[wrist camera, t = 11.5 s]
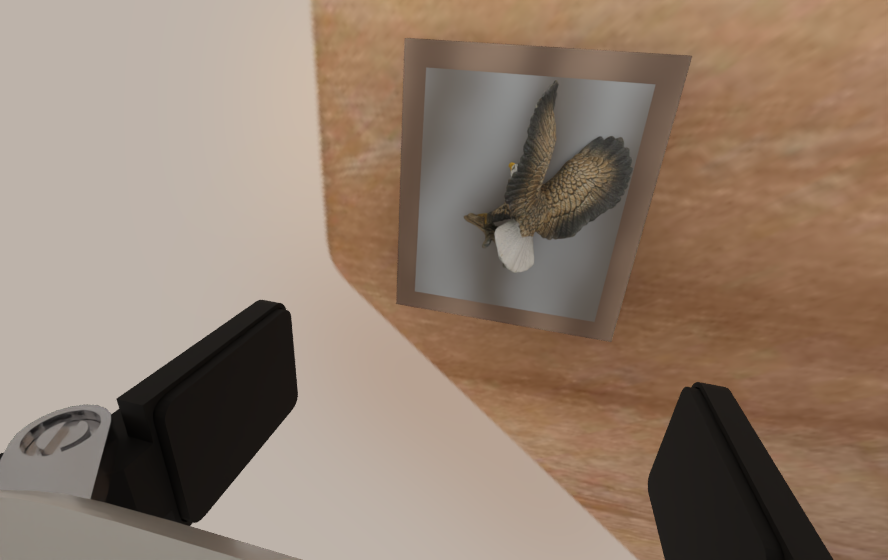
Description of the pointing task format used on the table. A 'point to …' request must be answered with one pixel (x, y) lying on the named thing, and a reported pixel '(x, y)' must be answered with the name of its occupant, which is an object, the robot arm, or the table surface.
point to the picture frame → (487, 172)
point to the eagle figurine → (553, 190)
